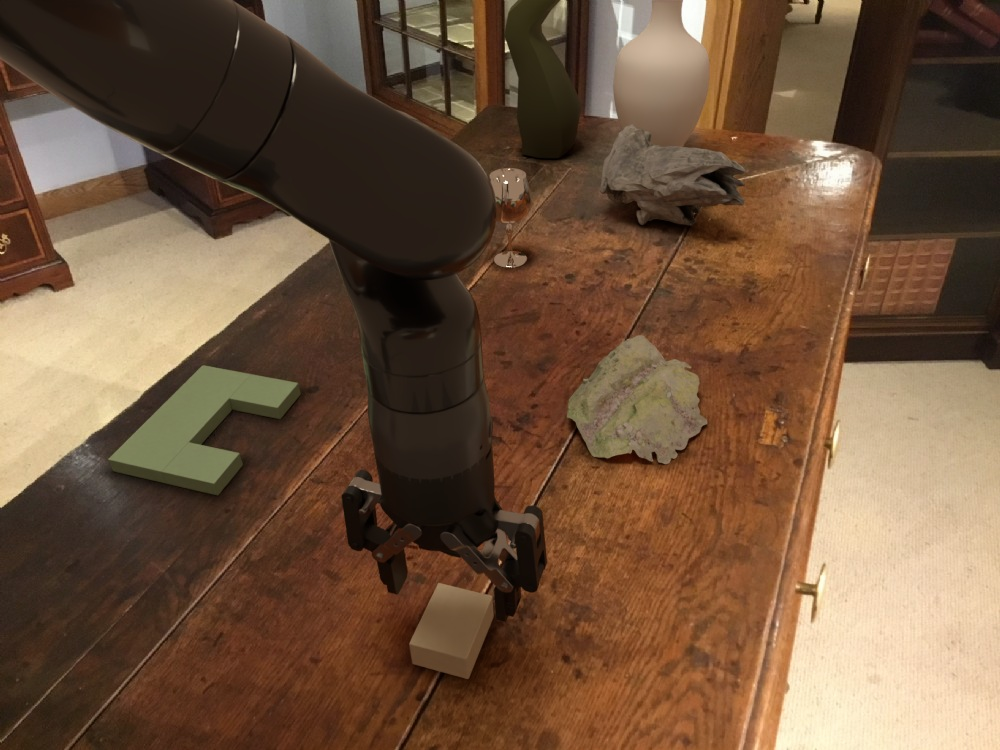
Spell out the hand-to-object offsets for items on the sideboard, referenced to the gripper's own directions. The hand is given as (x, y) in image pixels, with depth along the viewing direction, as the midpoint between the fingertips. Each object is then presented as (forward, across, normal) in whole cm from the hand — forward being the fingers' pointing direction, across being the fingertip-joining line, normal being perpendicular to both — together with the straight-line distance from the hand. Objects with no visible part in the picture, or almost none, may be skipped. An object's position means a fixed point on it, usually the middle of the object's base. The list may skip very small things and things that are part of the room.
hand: (451, 598), depth 63 cm
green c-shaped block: (+5, -33, +16) cm, 37 cm away
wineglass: (+5, -14, +58) cm, 60 cm away
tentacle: (+6, -20, +95) cm, 98 cm away
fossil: (+6, +4, +75) cm, 76 cm away
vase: (+6, -1, +94) cm, 95 cm away
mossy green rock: (+5, +8, +31) cm, 33 cm away
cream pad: (+5, 0, 0) cm, 5 cm away
